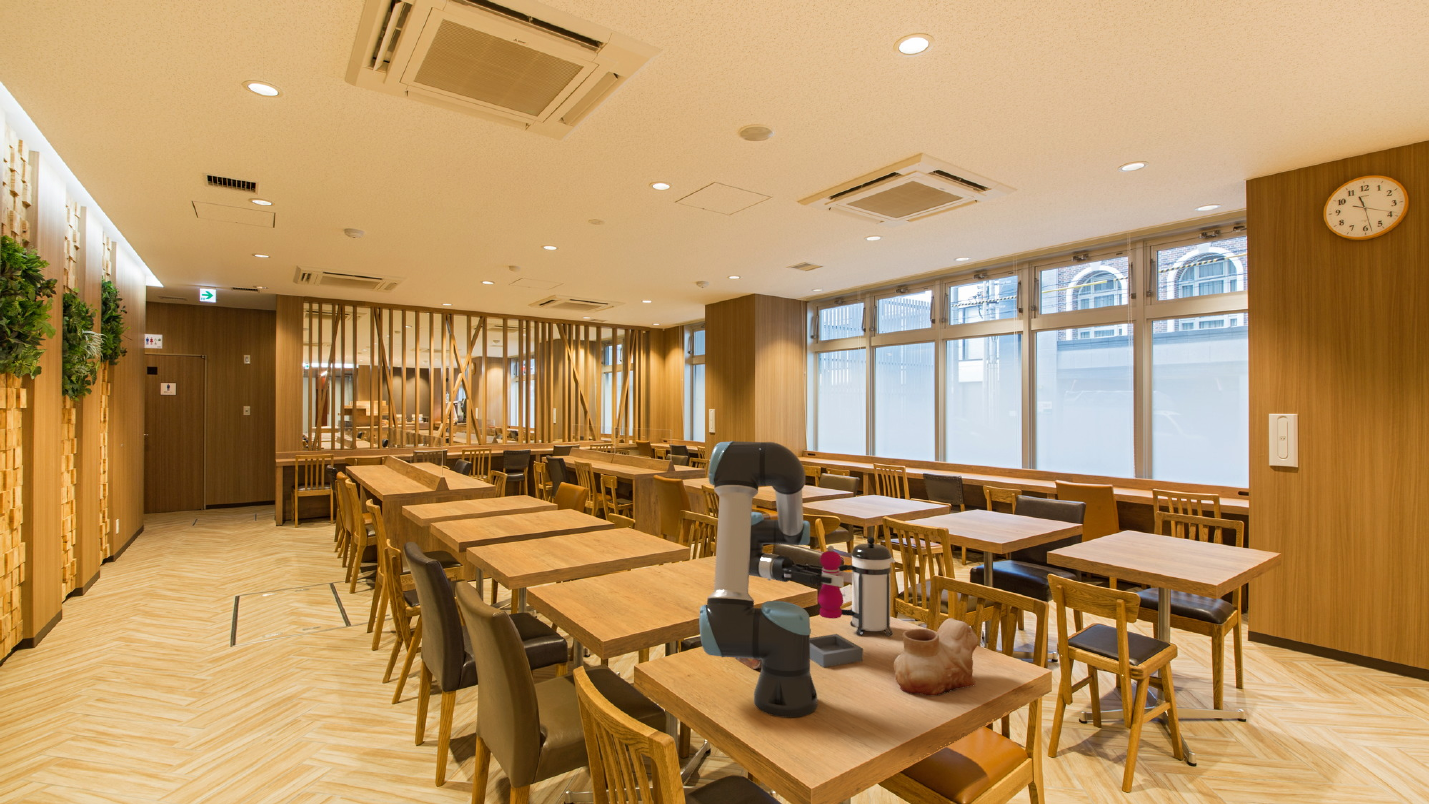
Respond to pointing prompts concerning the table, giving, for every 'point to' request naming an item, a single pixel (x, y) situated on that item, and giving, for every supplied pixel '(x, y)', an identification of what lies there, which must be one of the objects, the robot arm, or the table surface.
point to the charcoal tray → (834, 650)
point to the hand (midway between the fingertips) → (847, 579)
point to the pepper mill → (830, 586)
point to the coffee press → (870, 587)
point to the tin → (751, 662)
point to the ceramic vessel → (936, 659)
